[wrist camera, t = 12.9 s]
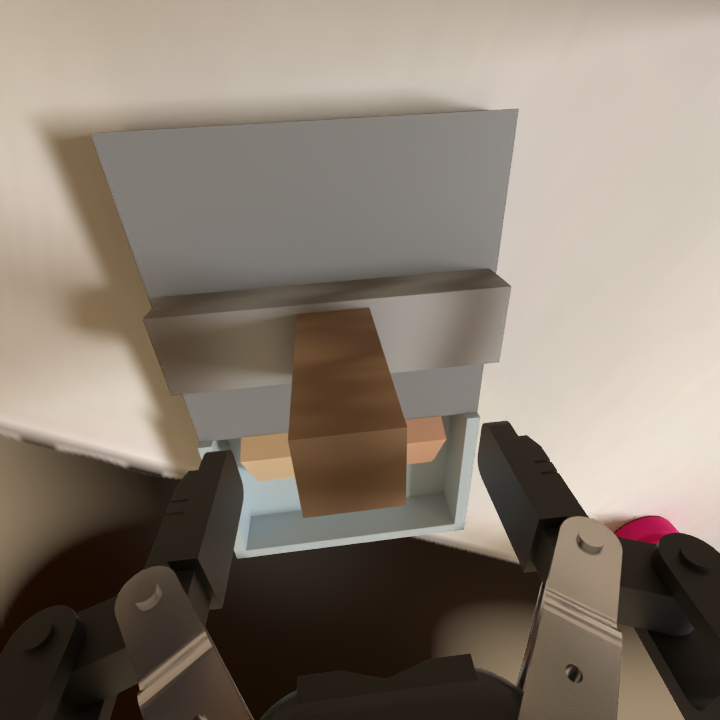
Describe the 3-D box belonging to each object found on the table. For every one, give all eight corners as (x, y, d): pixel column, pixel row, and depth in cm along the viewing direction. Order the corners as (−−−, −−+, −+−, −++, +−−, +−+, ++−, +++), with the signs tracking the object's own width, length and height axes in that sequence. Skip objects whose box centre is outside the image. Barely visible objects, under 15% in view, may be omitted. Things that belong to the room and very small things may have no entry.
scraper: (489, 268, 20) (637, 390, 11) (480, 338, 22) (598, 489, 13) (161, 296, 19) (26, 457, 10) (185, 367, 21) (92, 553, 12)
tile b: (324, 428, 24) (326, 452, 23) (329, 452, 28) (330, 473, 28) (240, 437, 24) (240, 462, 23) (258, 460, 28) (258, 481, 27)
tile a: (441, 415, 24) (446, 439, 24) (427, 441, 29) (432, 461, 28) (360, 424, 24) (363, 448, 23) (360, 448, 28) (362, 469, 28)
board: (490, 110, 19) (518, 108, 16) (461, 384, 27) (477, 412, 25) (122, 131, 18) (90, 133, 15) (210, 410, 26) (199, 442, 24)
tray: (461, 384, 27) (479, 417, 24) (450, 492, 33) (463, 529, 30) (210, 410, 26) (197, 448, 23) (244, 517, 32) (237, 558, 29)
